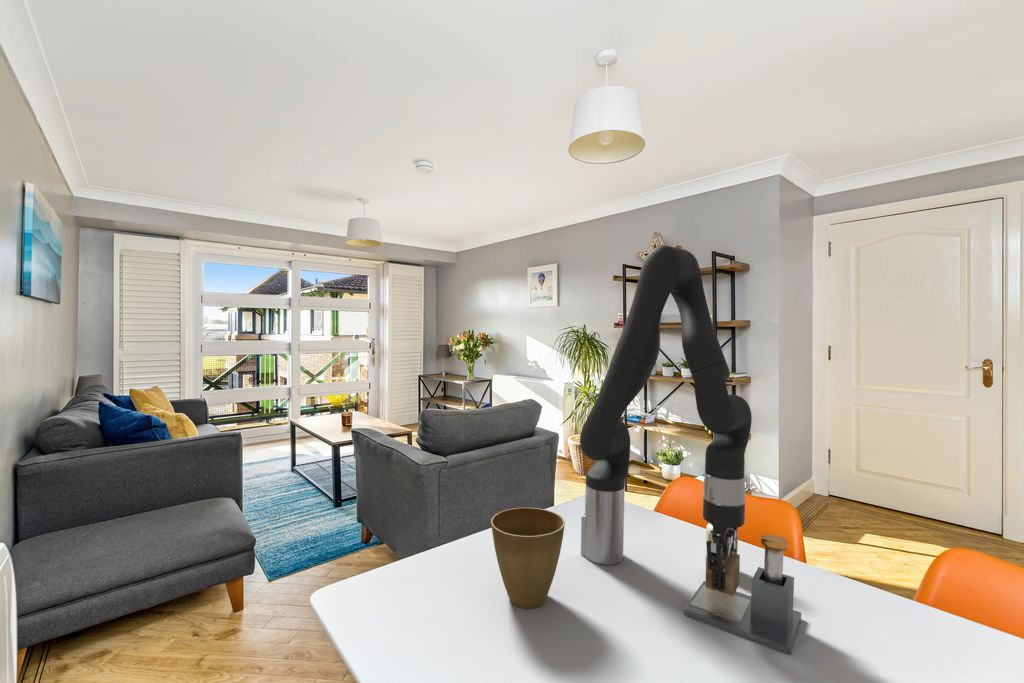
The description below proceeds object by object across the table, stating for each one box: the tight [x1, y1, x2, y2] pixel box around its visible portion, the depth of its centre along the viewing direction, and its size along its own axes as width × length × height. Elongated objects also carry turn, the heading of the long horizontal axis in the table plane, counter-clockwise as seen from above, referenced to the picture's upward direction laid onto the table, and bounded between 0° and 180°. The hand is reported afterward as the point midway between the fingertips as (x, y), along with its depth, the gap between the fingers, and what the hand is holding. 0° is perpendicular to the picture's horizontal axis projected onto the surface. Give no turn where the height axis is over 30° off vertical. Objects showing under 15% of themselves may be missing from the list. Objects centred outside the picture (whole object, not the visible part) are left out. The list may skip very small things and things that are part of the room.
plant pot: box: [490, 507, 566, 609], centre depth 97 cm, size 15×15×16 cm
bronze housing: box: [705, 552, 741, 596], centre depth 94 cm, size 5×5×6 cm
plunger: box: [760, 534, 789, 586], centre depth 89 cm, size 4×4×11 cm
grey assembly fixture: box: [683, 566, 802, 656], centre depth 92 cm, size 18×13×9 cm
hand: (722, 582), depth 94 cm, fingers closed on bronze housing, 5 cm apart
